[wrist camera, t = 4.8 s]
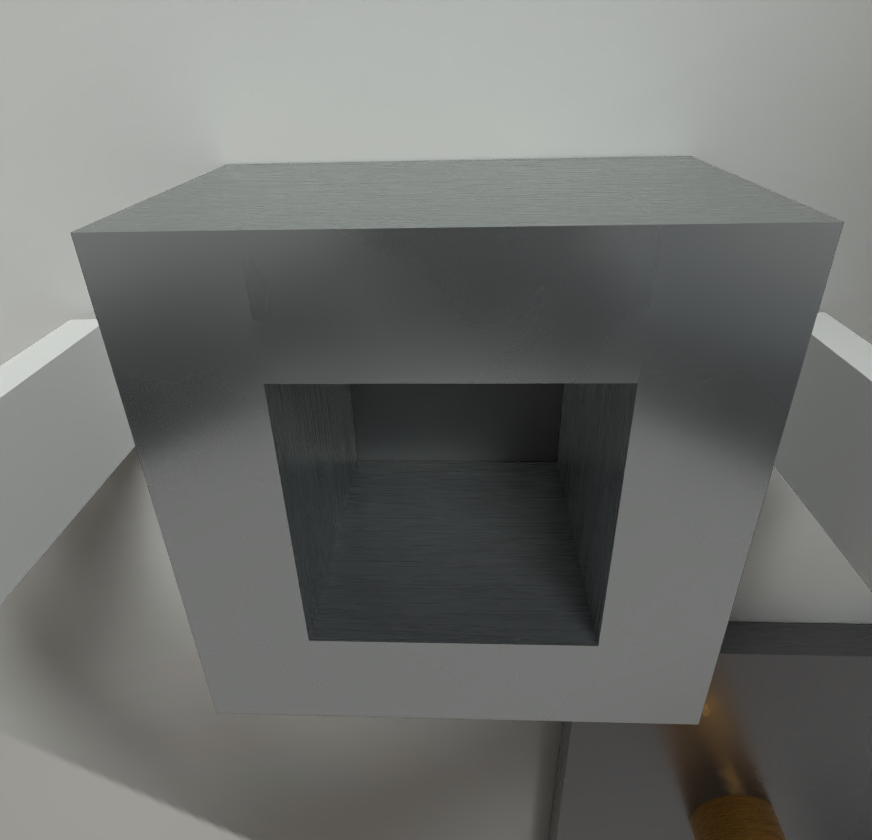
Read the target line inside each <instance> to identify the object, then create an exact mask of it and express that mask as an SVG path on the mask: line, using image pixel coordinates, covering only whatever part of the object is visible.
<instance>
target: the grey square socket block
mask: <svg viewBox="0 0 872 840" xmlns="http://www.w3.org/2000/svg"><path fill="white" fill-rule="evenodd" d="M843 224H844V222H843V221H840V220H838V219H836V218H833V217H831V216H829V215H826V214H824V213H822V212H819V211H817V210H815V209H812V208H810V207H808V206H805V205H803V204H801V203H798V202H796V201H794V200H791V199H789V198H787V197H784V196H782V195H780V194H778V193H775V192H773V191H771V190H768V189H766V188H764V187H761V186H759V185H757V184H754V183H752V182H750V181H747V180H745V179H743V178H740V177H738V176H736V175H733V174H731V173H729V172H726V171H724V170H722V169H719V168H717V167H715V166H712V165H710V164H708V163H705V162H703V161H701V160H699V159H696V158H694V157H692V156H674V157H621V158H567V159H514V160H460V161H407V162H353V163H300V164H246V165H225V166H222V167H220V168H218V169H215V170H213V171H211V172H208V173H206V174H204V175H202V176H199V177H197V178H195V179H192V180H190V181H188V182H185V183H183V184H181V185H179V186H176V187H174V188H172V189H169V190H167V191H165V192H163V193H160V194H158V195H156V196H153V197H151V198H149V199H146V200H144V201H142V202H140V203H137V204H135V205H133V206H130V207H128V208H126V209H123V210H121V211H119V212H117V213H114V214H112V215H110V216H107V217H105V218H103V219H100V220H98V221H96V222H94V223H91V224H89V225H87V226H84V227H82V228H80V229H78V230H75V231H73V232H71V236H72V239H73V243H74V246H75V249H76V252H77V256H78V259H79V262H80V266H81V269H82V272H83V275H84V279H85V282H86V285H87V289H88V292H89V295H90V298H91V302H92V305H93V308H94V312H95V315H96V318H97V321H98V325H99V328H100V331H101V335H102V338H103V341H104V344H105V348H106V351H107V354H108V358H109V361H110V364H111V367H112V371H113V374H114V377H115V381H116V384H117V387H118V390H119V394H120V397H121V400H122V404H123V407H124V410H125V413H126V417H127V420H128V423H129V427H130V430H131V433H132V437H133V440H134V443H135V446H136V450H137V453H138V456H139V460H140V463H141V466H142V469H143V473H144V476H145V479H146V483H147V486H148V489H149V492H150V496H151V499H152V502H153V506H154V509H155V512H156V515H157V519H158V522H159V525H160V529H161V532H162V535H163V538H164V542H165V545H166V548H167V552H168V555H169V558H170V561H171V565H172V568H173V571H174V575H175V578H176V581H177V584H178V588H179V591H180V594H181V598H182V601H183V604H184V607H185V611H186V614H187V617H188V621H189V624H190V627H191V630H192V634H193V637H194V640H195V644H196V647H197V650H198V653H199V657H200V660H201V663H202V667H203V670H204V673H205V676H206V680H207V683H208V686H209V690H210V693H211V696H212V699H213V703H214V706H215V709H216V713H241V714H282V715H324V716H365V717H407V718H448V719H490V720H531V721H572V722H614V723H655V724H697V725H699V721H700V718H701V714H702V711H703V707H704V704H705V700H706V697H707V693H708V690H709V687H710V683H711V680H712V676H713V673H714V669H715V666H716V662H717V659H718V655H719V652H720V649H721V645H722V642H723V638H724V635H725V631H726V628H727V624H728V621H729V617H730V614H731V611H732V607H733V604H734V600H735V597H736V593H737V590H738V586H739V583H740V579H741V576H742V573H743V569H744V566H745V562H746V559H747V555H748V552H749V548H750V545H751V541H752V538H753V535H754V531H755V528H756V524H757V521H758V517H759V514H760V510H761V507H762V503H763V500H764V497H765V493H766V490H767V486H768V483H769V479H770V476H771V472H772V469H773V465H774V462H775V459H776V455H777V452H778V448H779V445H780V441H781V438H782V434H783V431H784V427H785V424H786V421H787V417H788V414H789V410H790V407H791V403H792V400H793V396H794V393H795V389H796V386H797V383H798V379H799V376H800V372H801V369H802V365H803V362H804V358H805V355H806V351H807V348H808V345H809V341H810V338H811V334H812V331H813V327H814V324H815V320H816V317H817V313H818V310H819V307H820V303H821V300H822V296H823V293H824V289H825V286H826V282H827V279H828V275H829V272H830V269H831V265H832V262H833V258H834V255H835V251H836V248H837V244H838V241H839V237H840V234H841V231H842V227H843ZM516 383H564V389H563V400H562V412H561V423H560V435H559V447H558V458H557V462H401V461H358V459H357V449H356V439H355V429H354V419H353V409H352V400H351V390H350V384H516Z"/></svg>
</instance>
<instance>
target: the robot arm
mask: <svg viewBox="0 0 872 840" xmlns="http://www.w3.org/2000/svg"><path fill="white" fill-rule="evenodd" d="M134 447H135V443H134V440H133V437H132V433H131V430H130V427H129V423H128V420H127V417H126V413H125V410H124V407H123V404H122V400H121V397H120V394H119V390H118V387H117V384H116V381H115V377H114V374H113V371H112V367H111V364H110V361H109V358H108V354H107V351H106V348H105V344H104V341H103V338H102V335H101V331H100V328H99V325H98V321H97V319H81V320H69V321H68V322H66V323H65V324H63V325H62V326H60V327H59V328H57V329H56V330H54V331H53V332H51V333H50V334H48V335H47V336H45V337H44V338H42V339H41V340H39V341H37V342H36V343H34V344H33V345H31V346H30V347H28V348H27V349H25V350H24V351H22V352H21V353H19V354H18V355H16V356H15V357H13V358H12V359H10V360H9V361H7V362H6V363H4V364H3V365H1V366H0V605H1V604H2V602H3V601H4V600H5V599H6V598H7V597H8V595H9V594H10V593H11V592H12V591H13V589H14V588H15V587H16V586H17V585H18V584H19V582H20V581H21V580H22V579H23V578H24V577H25V575H26V574H27V573H28V572H29V571H30V569H31V568H32V567H33V566H34V565H35V564H36V562H37V561H38V560H39V559H40V558H41V556H42V555H43V554H44V553H45V552H46V551H47V549H48V548H49V547H50V546H51V545H52V544H53V542H54V541H55V540H56V539H57V538H58V536H59V535H60V534H61V533H62V532H63V531H64V529H65V528H66V527H67V526H68V525H69V523H70V522H71V521H72V520H73V519H74V518H75V516H76V515H77V514H78V513H79V512H80V511H81V509H82V508H83V507H84V506H85V505H86V503H87V502H88V501H89V500H90V499H91V498H92V496H93V495H94V494H95V493H96V492H97V490H98V489H99V488H100V487H101V486H102V485H103V483H104V482H105V481H106V480H107V479H108V477H109V476H110V475H111V474H112V473H113V472H114V470H115V469H116V468H117V467H118V466H119V465H120V463H121V462H122V461H123V460H124V459H125V457H126V456H127V455H128V454H129V453H130V452H131V450H132V449H133V448H134ZM774 466H775V467H776V468H777V470H778V471H779V472H780V473H781V475H782V476H783V477H784V479H785V480H786V481H787V482H788V484H789V485H790V486H791V488H792V489H793V490H794V492H795V493H796V494H797V495H798V497H799V498H800V499H801V501H802V502H803V503H804V504H805V506H806V507H807V508H808V510H809V511H810V512H811V513H812V515H813V516H814V517H815V519H816V520H817V521H818V523H819V524H820V525H821V526H822V528H823V529H824V530H825V532H826V533H827V534H828V535H829V537H830V538H831V539H832V541H833V542H834V543H835V545H836V546H837V547H838V548H839V550H840V551H841V552H842V554H843V555H844V556H845V557H846V559H847V560H848V561H849V563H850V564H851V565H852V567H853V568H854V569H855V570H856V572H857V573H858V574H859V576H860V577H861V578H862V579H863V581H864V582H865V583H866V585H867V586H868V587H869V588H870V590H871V591H872V345H871V344H870V343H869V342H867V341H866V340H864V339H863V338H861V337H860V336H858V335H857V334H856V333H854V332H853V331H851V330H850V329H848V328H847V327H845V326H844V325H843V324H841V323H840V322H838V321H837V320H835V319H834V318H832V317H831V316H829V315H828V314H827V313H825V312H818V313H817V317H816V320H815V324H814V327H813V331H812V334H811V338H810V341H809V345H808V348H807V351H806V355H805V358H804V362H803V365H802V369H801V372H800V376H799V379H798V383H797V386H796V389H795V393H794V396H793V400H792V403H791V407H790V410H789V414H788V417H787V421H786V424H785V427H784V431H783V434H782V438H781V441H780V445H779V448H778V452H777V455H776V459H775V462H774Z"/></svg>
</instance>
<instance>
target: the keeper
mask: <svg viewBox="0 0 872 840" xmlns="http://www.w3.org/2000/svg"><path fill="white" fill-rule="evenodd" d="M549 840H872V624H826V623H766V622H728V624H727V628H726V631H725V635H724V638H723V642H722V645H721V649H720V652H719V655H718V659H717V662H716V666H715V669H714V673H713V676H712V680H711V683H710V687H709V690H708V693H707V697H706V700H705V704H704V707H703V711H702V714H701V718H700V721H699V725H697V724H655V723H614V722H572V721H563V725H562V733H561V742H560V750H559V758H558V766H557V775H556V783H555V791H554V800H553V808H552V816H551V824H550V833H549Z"/></svg>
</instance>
